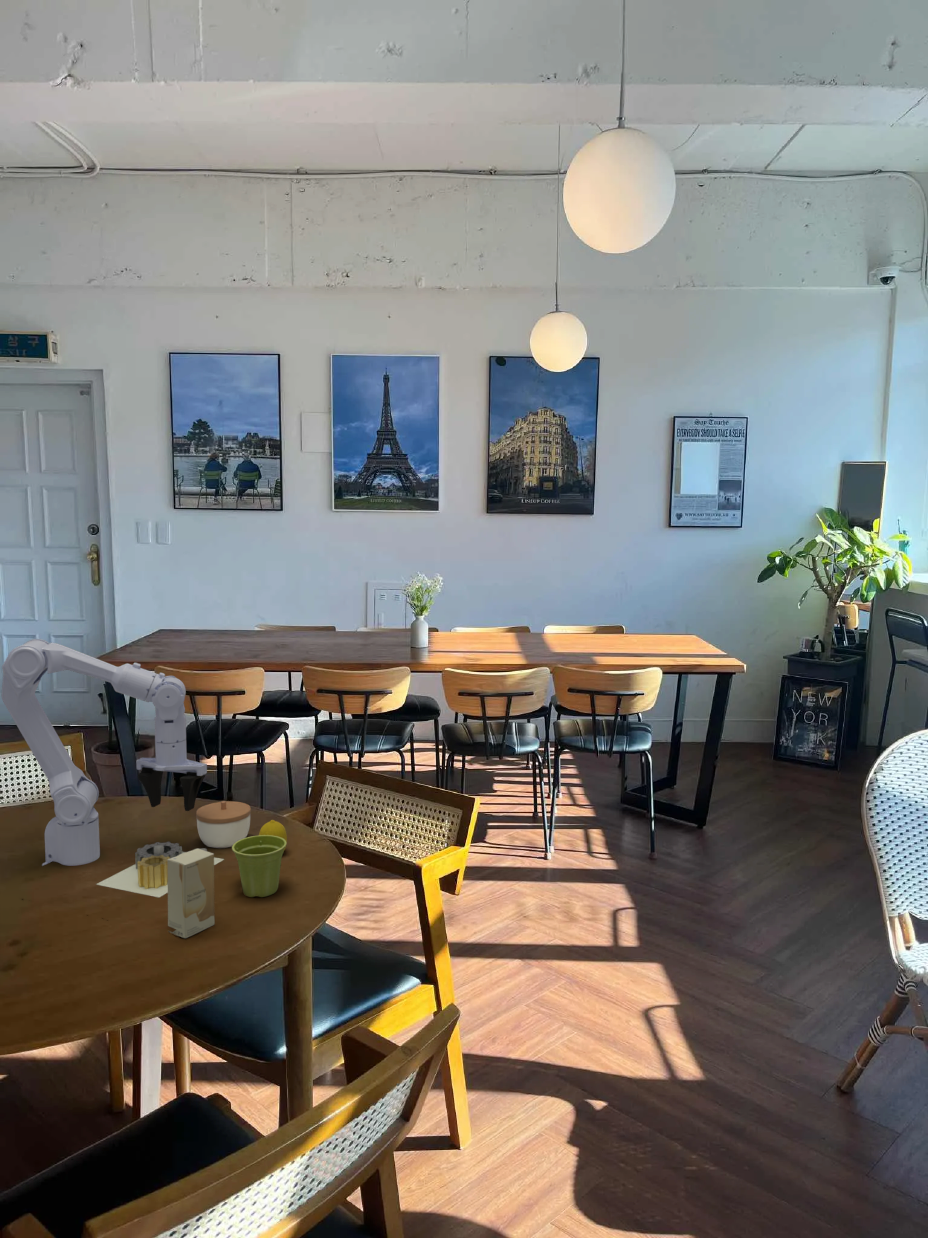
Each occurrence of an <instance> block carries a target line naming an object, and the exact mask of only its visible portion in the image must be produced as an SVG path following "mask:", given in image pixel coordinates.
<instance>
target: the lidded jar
mask: <svg viewBox="0 0 928 1238" xmlns="http://www.w3.org/2000/svg"><path fill="white" fill-rule="evenodd" d="M251 812H252V808H251V806H250V805H249V804H248V803H245V802H240V801H231V800H230V801H229V800H228V801H226V800H221V801H219V802H218V801H216V802H212V803H208V804H205V805H203V806H201V807H199V808H197V810H196V813H195V818H196V827H197V832H198V836H199V838H200V840H201V841H202V843H203V844H204V845H205V846H206V847H209V848H215V849H225V848H232V846H233V844H234V843H236V842H237V841H239V840H241V839H244V838H247V836H248V834H249V831H250V826H251Z"/></svg>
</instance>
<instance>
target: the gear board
mask: <svg viewBox="0 0 928 1238" xmlns="http://www.w3.org/2000/svg"><path fill="white" fill-rule="evenodd" d="M200 849H201V850H204V851H207V852H208V849H207V848H206V847H205V848H203V847H202V848H200ZM186 852H187V851H182V854H183V853H186ZM163 853H164V846H163V845H157V846H154V854H163ZM223 861H225V859H224V858H219V857H215V856H214V866H216V865H217V864H219V863H221V862H223ZM156 864H158V863H156ZM95 885H96V886H101V887H107V888H110V889H114V890H115V889H116V890H121V891H125V892H131V893H135V894H140V895H144V896H151V897H155V898H161V897H163V896H165V895H166V894H168V883H167V885H166V886H160V887H158V888H156V889H155V888H149V889H145V887H139V884H138V869H136V863H135V864H133V865H130V866H129V867H127V868H125V869H123V870H121V871H119V872H117V873H115V874H113V875H112V876H110V877H107V878H105V879H103V880H102V881H100V882H98V883H95Z"/></svg>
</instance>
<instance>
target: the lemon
mask: <svg viewBox="0 0 928 1238" xmlns="http://www.w3.org/2000/svg"><path fill="white" fill-rule="evenodd" d="M259 835H273V836H278V837H281V838H283V839H284V840H285V841H286V847H287V844H288V834H287V830H286V828H285V826H284V825H283V824H282V823H280V821H277V820H274V819H271V820H270V821H267V822H266V823H264V824H263V825H262V826H261V828H260V830H259V833H258V836H259ZM286 847H285V848H284V851H285V850H286Z"/></svg>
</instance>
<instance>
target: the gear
mask: <svg viewBox="0 0 928 1238" xmlns="http://www.w3.org/2000/svg"><path fill="white" fill-rule="evenodd" d="M157 845H163V846H164V853H163V854H154V846H157ZM182 852H183V846H182V845H181V846H180V843H178V842H176V843H171V841H166V842H159V841H158V842H156V841H155V842H154V843H152V844H144V846H143V847H138V848H137V849H136V852H135V853H134V855H135V856H134V857H135V864H136V869H138V863H137V862H138V861H142V858H147V857H151V856H152V855H154V856H160V855H164V857H170V858H173V857H176V856H178V855H180V854H182Z"/></svg>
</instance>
